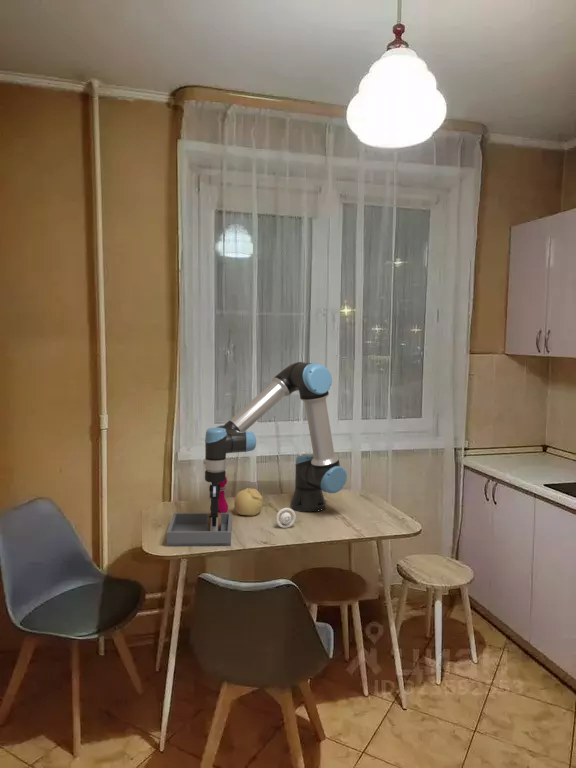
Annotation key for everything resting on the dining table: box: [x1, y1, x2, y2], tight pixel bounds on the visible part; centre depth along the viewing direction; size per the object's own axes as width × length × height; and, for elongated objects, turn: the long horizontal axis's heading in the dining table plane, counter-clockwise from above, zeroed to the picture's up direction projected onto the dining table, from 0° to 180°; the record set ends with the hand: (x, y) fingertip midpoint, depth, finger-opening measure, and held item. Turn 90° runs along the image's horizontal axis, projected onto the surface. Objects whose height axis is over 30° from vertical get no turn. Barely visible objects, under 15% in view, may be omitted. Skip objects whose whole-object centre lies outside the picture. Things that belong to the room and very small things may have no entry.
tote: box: [166, 512, 233, 547], centre depth 219 cm, size 22×22×5 cm
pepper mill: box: [209, 475, 229, 513], centre depth 238 cm, size 7×7×20 cm
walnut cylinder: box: [207, 512, 221, 531], centre depth 219 cm, size 5×5×7 cm
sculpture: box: [233, 487, 264, 516], centre depth 246 cm, size 12×12×11 cm
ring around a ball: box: [275, 507, 297, 529], centre depth 231 cm, size 8×6×8 cm
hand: (214, 531), depth 220 cm, fingers closed on tote, walnut cylinder, 4 cm apart
